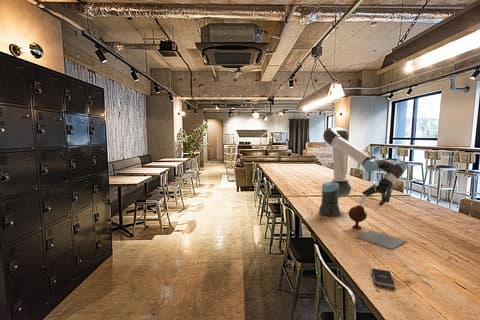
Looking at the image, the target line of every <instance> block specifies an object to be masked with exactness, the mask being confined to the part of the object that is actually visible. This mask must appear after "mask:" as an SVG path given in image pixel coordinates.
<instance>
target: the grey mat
mask: <svg viewBox="0 0 480 320" xmlns="http://www.w3.org/2000/svg"><path fill="white" fill-rule="evenodd" d="M354 237H355V238H356V239H360V240H362V241H365V242H367V243H371V244H372V245H376V246H379V247H382V248H385V249H389V250H390V251H392V250H395V249H396V248H398V247H400V246H403V245H405V244H406V243H408V241H407V240H404V239H402V238H397V237H394V236H391V235H388V234H385V233H381V232H378V231H375V230H372V229H370V230H368V231H366V232H363V233H360V234H358V235H355V236H354Z"/></svg>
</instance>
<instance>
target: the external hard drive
mask: <svg viewBox="0 0 480 320" xmlns="http://www.w3.org/2000/svg"><path fill="white" fill-rule="evenodd" d="M391 273H392V272H391V271H390V270H386V269H380V268H379V269H378V268H371V275H372V279H373V284H374V286H377V287H381V288H385V289H392V290H394V289H396V283H395V281H394V277H393V276H392V274H391Z"/></svg>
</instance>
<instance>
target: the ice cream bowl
mask: <svg viewBox="0 0 480 320" xmlns="http://www.w3.org/2000/svg"><path fill="white" fill-rule="evenodd" d="M347 213H348V217H349V219H350V220H351V221H354V222H355V224H354V225H353V226H351V228H352V229H354V230H357V231H358V230H362V226H360V225H359V223H361V222H363V221H365V220H366V219H367V216H368V214H367V213H366V210H365V208H364V206H362V205H360V204H358V205H356V206H352V207H350V209H349V211H348V212H347Z"/></svg>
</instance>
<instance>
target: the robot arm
mask: <svg viewBox="0 0 480 320" xmlns="http://www.w3.org/2000/svg"><path fill="white" fill-rule="evenodd" d="M349 136H350V135H349V131H347V129H345V128H342V127H329V128H327V129H325V130H324V132H323V134H322V137H323V140H324V142H326V143H327V144H328V145H329V146H330V147H331V148H332V161H333V162H332V164H333V167H332V168H333V179H332V180H331V181H326V182H324V183H322V186H321V204H320V207H319V209H318V213H319V214H320V215H322V216H326V217H338V216H340V215H341V210H340V209H341V208H340V205H339V199H342V198H345V197H347V196H349V195H350V194H351V191H352V186H351V184H350V183H349V180H348V179H347V176H346V172H347V171H346V156H348V157H350V159H352V160H354V161H355V162H357V163H358V164H359V165H361V166H362V167H363V169H364V170H365V171H366V172H373V173H374V172H377V171H383V172H384V173H385V174H384V176H383V177H382V178H381V179H380V180H379V181H378V184H377V185H376V184H375V183H374V184H373V185H371V186H370V187H369V188H367V189H365V190H364V191H363V192H361V194H363V195H362V196H361V197H360V199H358V204H359V205H361V206H362V204H363V203H364V202H365V201H366V200H367V199H368V197H369V196H372V195H374V194H381V199H380V200H379V201H378V202H377V203H376V204H375V205H374V207H373V208H374V209H375V210H376V211H379V209H380V208H381V207H382V206H384V204H385V203H387V204H388V203H389V202H390V201H391V200H390V199H391V196H392V193H393V192H394V191H393V189H392V187H393V186H394V185H395V184H396V183H397V182H398V180H399V179H400V178H401V176H402V175H403V174H404V173H405V172H406V170H407V165H406V164H405V163H404V162H402V161H399V160H398V161H395V162H391V160H388V159H385V158H383V157H380V156H375V157H374V158H373V157H371V156H370V155H368V154H367V153H365V152H364V151H363V150H361V149H359V148H358V147H356V146H355V145H353V144H351V143H350V142H349V141H348V140H349Z"/></svg>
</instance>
